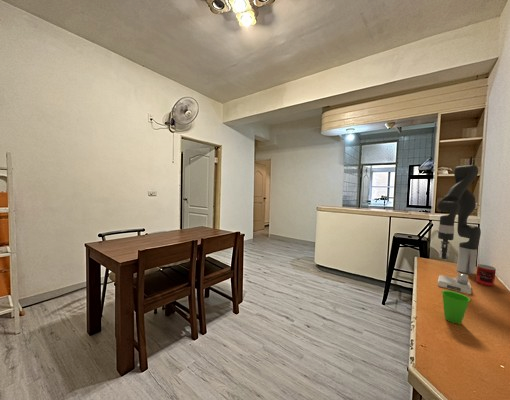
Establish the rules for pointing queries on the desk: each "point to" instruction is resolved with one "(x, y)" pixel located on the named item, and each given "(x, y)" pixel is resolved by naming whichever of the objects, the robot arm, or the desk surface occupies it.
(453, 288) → the scale
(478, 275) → the canned food
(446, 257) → the disc
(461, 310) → the cup
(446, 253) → the robot arm
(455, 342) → the desk surface
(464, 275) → the cylinder
